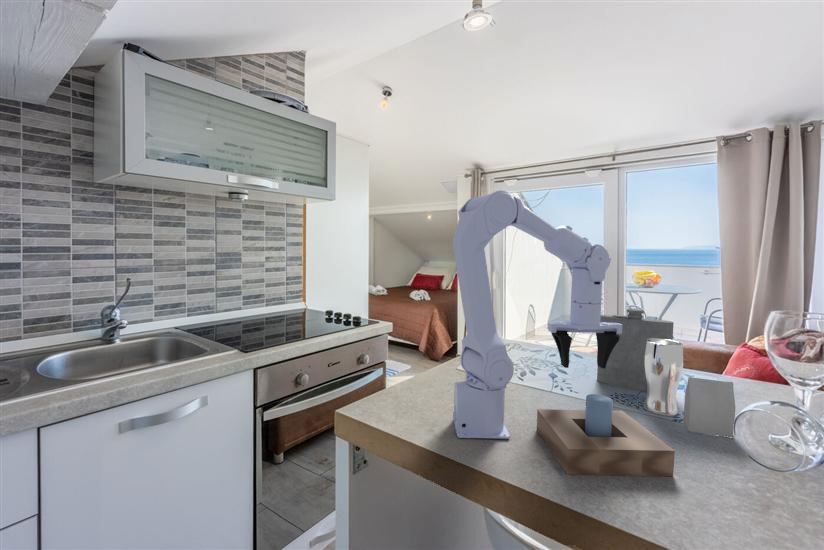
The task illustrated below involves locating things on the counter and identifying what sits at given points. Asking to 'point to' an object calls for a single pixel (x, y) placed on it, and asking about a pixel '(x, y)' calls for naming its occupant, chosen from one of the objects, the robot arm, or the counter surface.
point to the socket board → (604, 445)
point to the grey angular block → (709, 407)
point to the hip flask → (631, 349)
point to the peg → (598, 416)
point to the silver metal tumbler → (662, 375)
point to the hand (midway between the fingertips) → (583, 366)
